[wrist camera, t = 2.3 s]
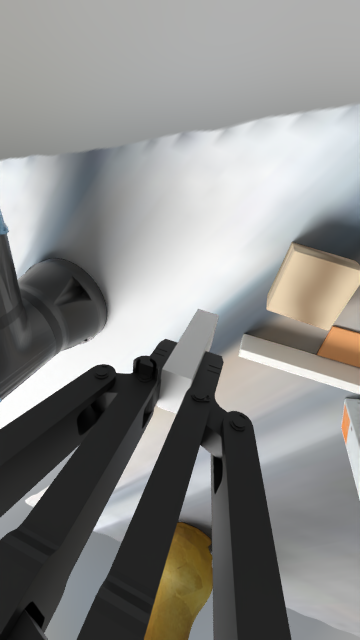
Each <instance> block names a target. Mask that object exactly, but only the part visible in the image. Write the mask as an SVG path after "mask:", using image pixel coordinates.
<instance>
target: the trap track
mask: <svg viewBox="0 0 360 640" xmlns="http://www.w3.org/2000/svg"><path fill="white" fill-rule="evenodd" d="M239 357H243V358H246V359H249V360H252V361H255V362H258V363H262V364H265V365H268V366H271V367H274V368H278V369H281V370H284V371H287V372H290V373H293V374H297V375H300V376H303V377H306V378H309V379H313V380H316V381H319V382H322V383H325V384H328V385H332V386H335V387H338V388H341V389H344V390H348V391H351V392H354V393H357V394H360V368H359V367H356V366H352V365H349V364H346V363H342V362H339V361H335V360H332V359H329V358H325V357H322V356H318V355H315V354H312V353H308V352H305V351H301V350H298V349H295V348H291V347H288V346H284V345H281V344H278V343H274V342H271V341H268V340H264V339H261V338H257V337H254V336H251V335H247V334H244V335H243V338H242V341H241V346H240V351H239Z"/></svg>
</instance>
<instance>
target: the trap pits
mask: <svg viewBox="0 0 360 640" xmlns="http://www.w3.org/2000/svg"><path fill="white" fill-rule="evenodd" d="M317 355H319V356H322V357H326V358H329V359H332V360H336V361H339V362H343V363H346V364H349V365H353V366H356V367H360V333H357V332H353V331H350V330H346V329H342V328H339V327H335V326H332V328H331V330H330V332H329V333H328V335H327V337H326V339H325V341H324V342H323V344H322V346H321V348H320V349H319V351H318V353H317Z"/></svg>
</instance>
